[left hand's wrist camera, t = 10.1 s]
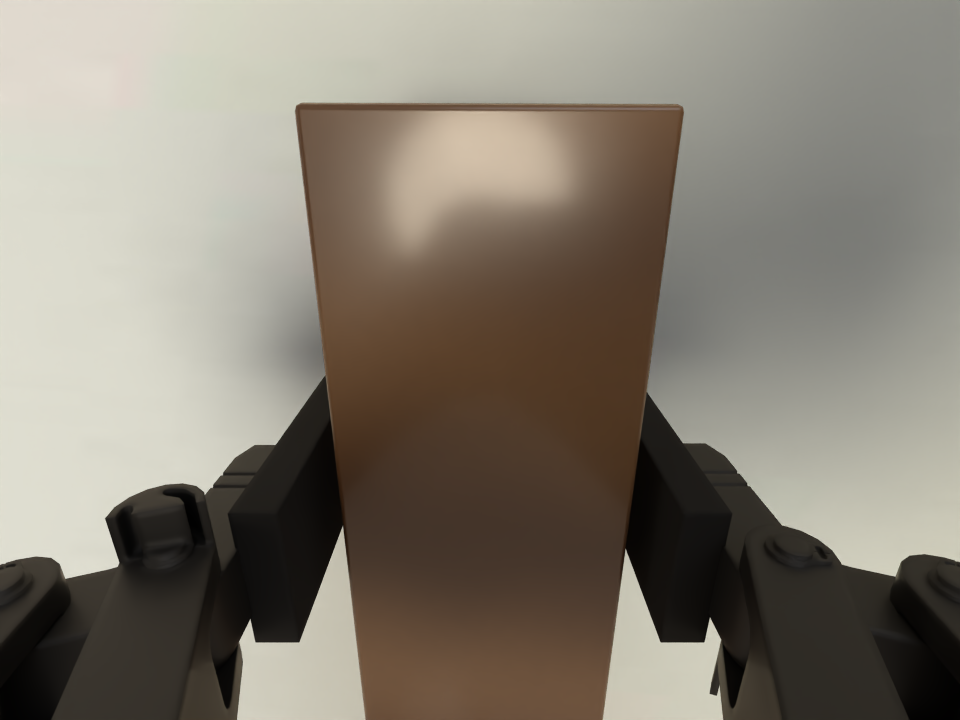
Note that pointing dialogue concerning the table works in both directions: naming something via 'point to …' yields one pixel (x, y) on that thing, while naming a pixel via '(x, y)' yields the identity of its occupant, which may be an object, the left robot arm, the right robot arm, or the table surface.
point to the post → (487, 386)
